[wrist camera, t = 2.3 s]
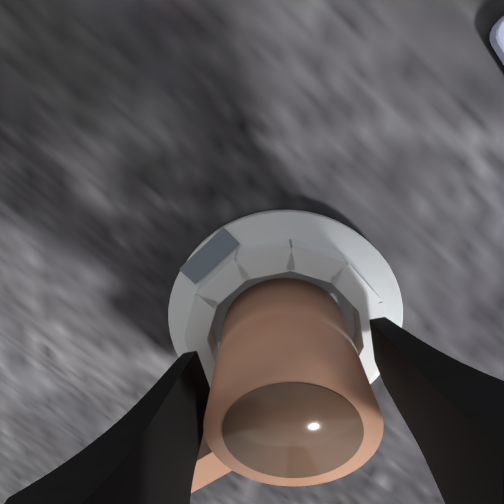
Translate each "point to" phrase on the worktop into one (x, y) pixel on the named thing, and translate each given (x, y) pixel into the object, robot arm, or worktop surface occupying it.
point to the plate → (281, 266)
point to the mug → (287, 391)
